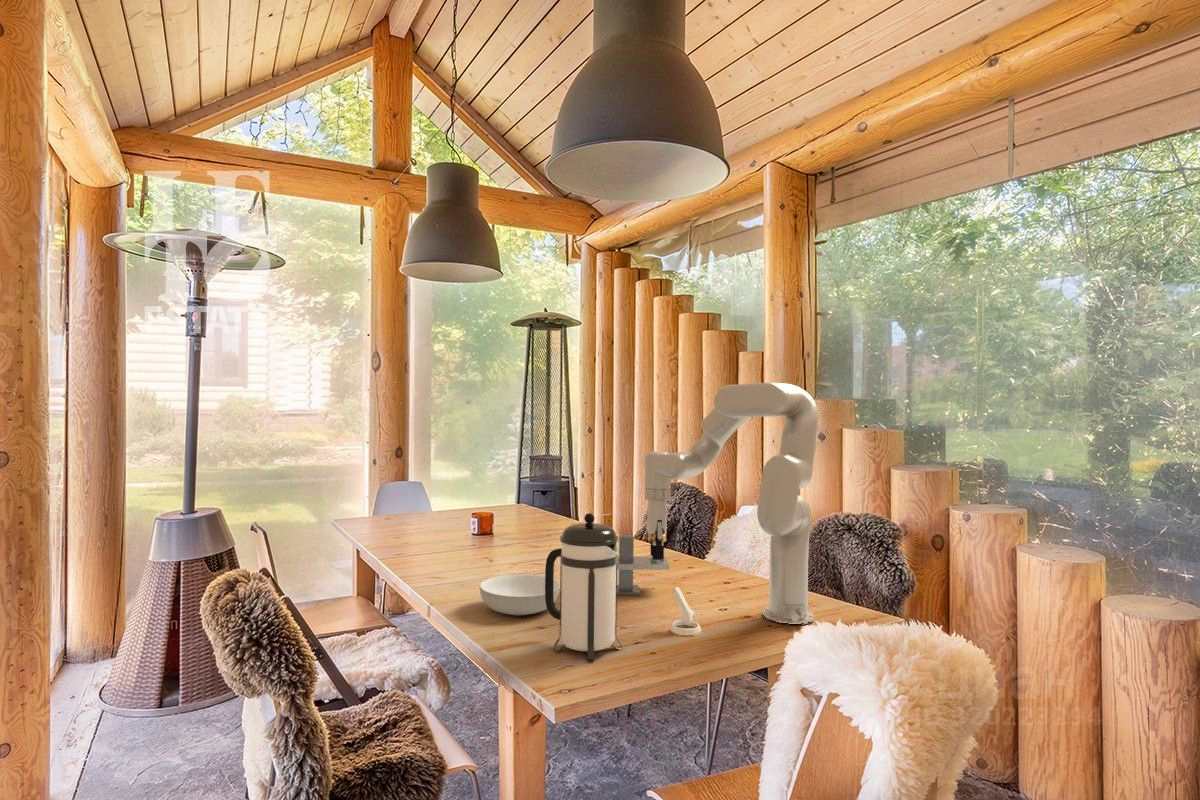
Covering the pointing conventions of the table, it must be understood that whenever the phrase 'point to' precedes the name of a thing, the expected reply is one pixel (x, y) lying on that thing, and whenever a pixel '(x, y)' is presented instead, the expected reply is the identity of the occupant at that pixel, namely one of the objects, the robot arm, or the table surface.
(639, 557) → the grey cross bracket
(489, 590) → the serving bowl
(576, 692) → the table surface
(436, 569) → the table surface
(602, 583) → the coffee press
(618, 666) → the table surface
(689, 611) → the white ring with handle
